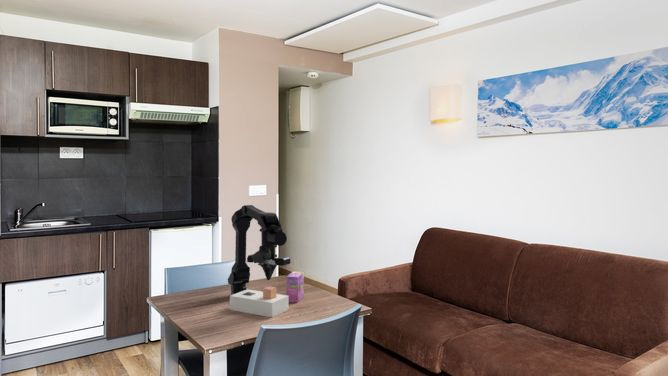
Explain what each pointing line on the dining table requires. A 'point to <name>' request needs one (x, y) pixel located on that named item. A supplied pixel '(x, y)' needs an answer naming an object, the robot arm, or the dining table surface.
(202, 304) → the dining table surface
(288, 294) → the box
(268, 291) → the peach square block
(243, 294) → the metallic grey block
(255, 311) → the white rectangular block
